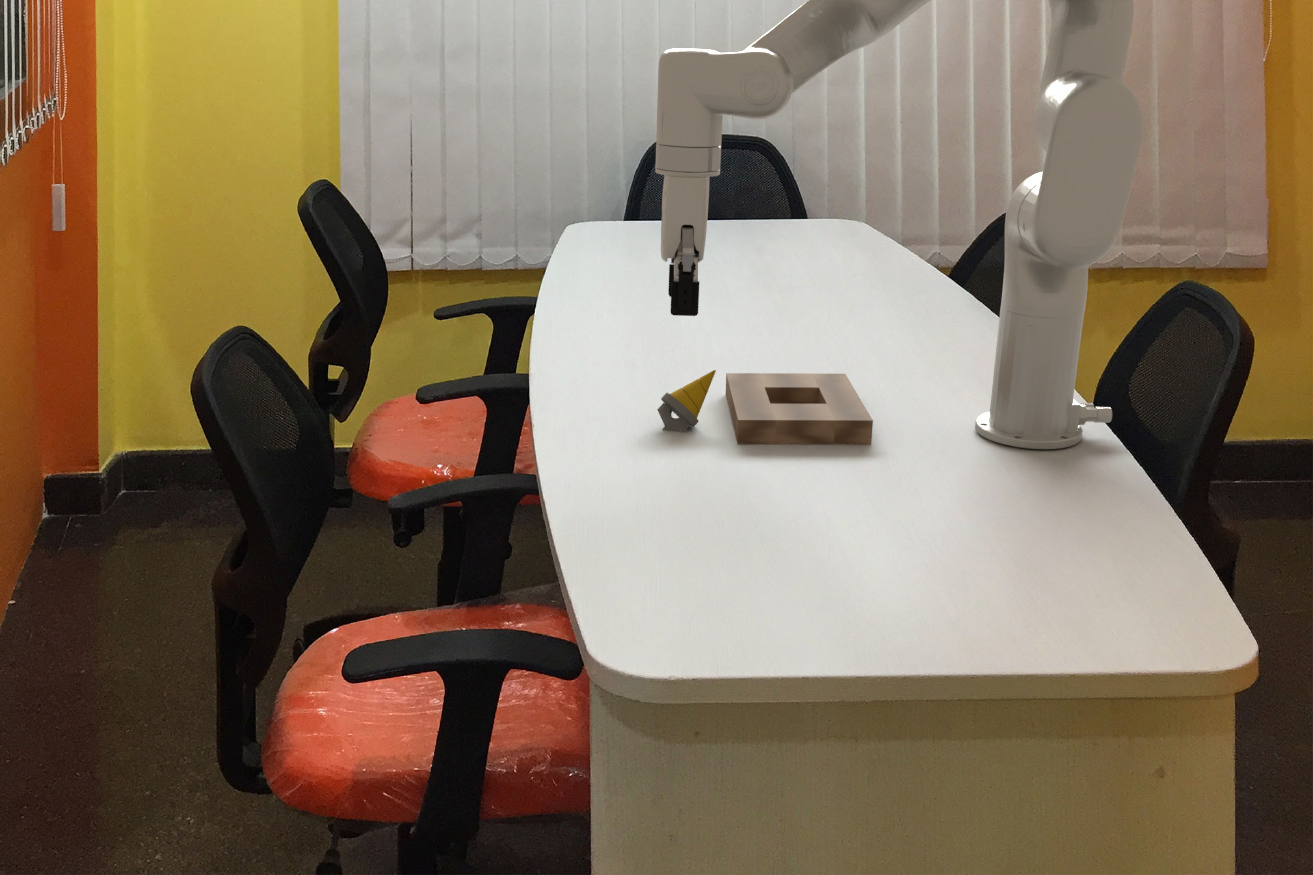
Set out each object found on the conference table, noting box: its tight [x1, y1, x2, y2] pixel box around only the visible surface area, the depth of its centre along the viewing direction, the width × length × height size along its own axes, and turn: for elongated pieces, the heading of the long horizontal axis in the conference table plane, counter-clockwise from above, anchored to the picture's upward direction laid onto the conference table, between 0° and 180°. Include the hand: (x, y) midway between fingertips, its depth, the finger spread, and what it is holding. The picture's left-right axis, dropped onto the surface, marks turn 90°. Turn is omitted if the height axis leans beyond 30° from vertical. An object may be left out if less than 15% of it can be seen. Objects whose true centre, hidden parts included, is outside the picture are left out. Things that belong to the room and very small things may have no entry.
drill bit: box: [656, 369, 717, 433], centre depth 148 cm, size 5×5×10 cm
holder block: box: [725, 372, 874, 445], centre depth 152 cm, size 16×20×3 cm
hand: (682, 305), depth 145 cm, fingers open, 9 cm apart
